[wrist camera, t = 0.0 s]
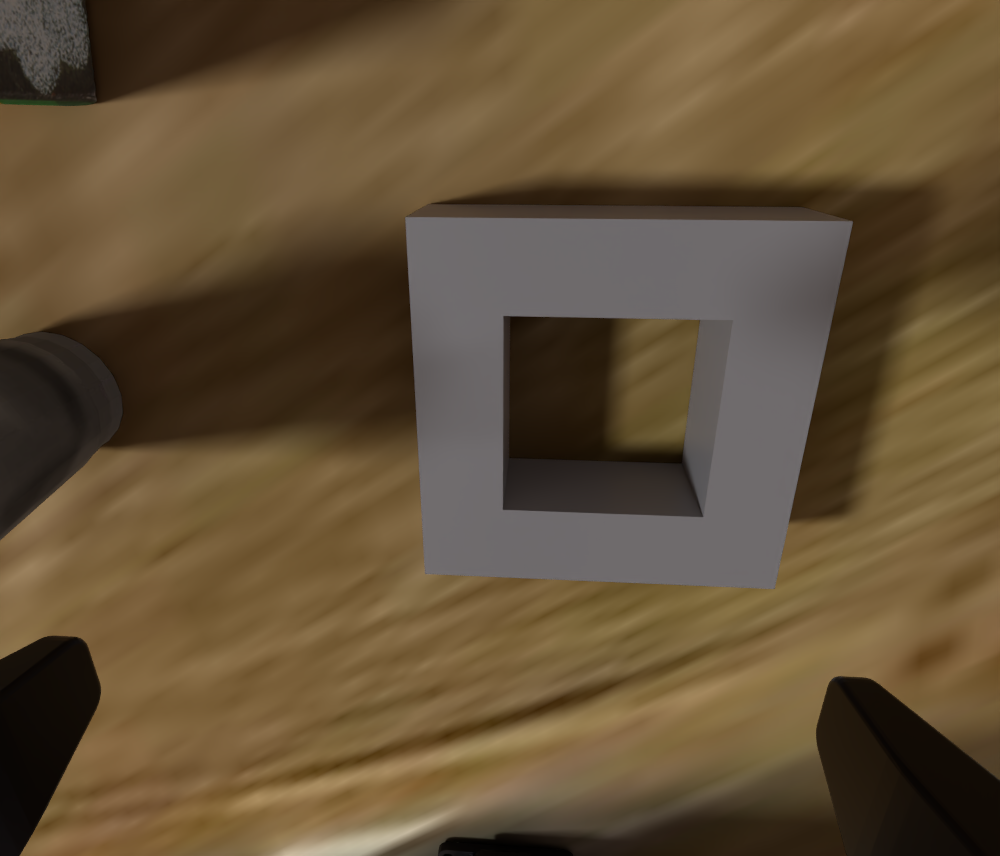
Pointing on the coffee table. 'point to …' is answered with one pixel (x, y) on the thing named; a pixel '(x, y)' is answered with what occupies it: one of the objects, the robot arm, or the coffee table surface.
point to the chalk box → (45, 53)
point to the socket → (619, 294)
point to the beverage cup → (49, 418)
